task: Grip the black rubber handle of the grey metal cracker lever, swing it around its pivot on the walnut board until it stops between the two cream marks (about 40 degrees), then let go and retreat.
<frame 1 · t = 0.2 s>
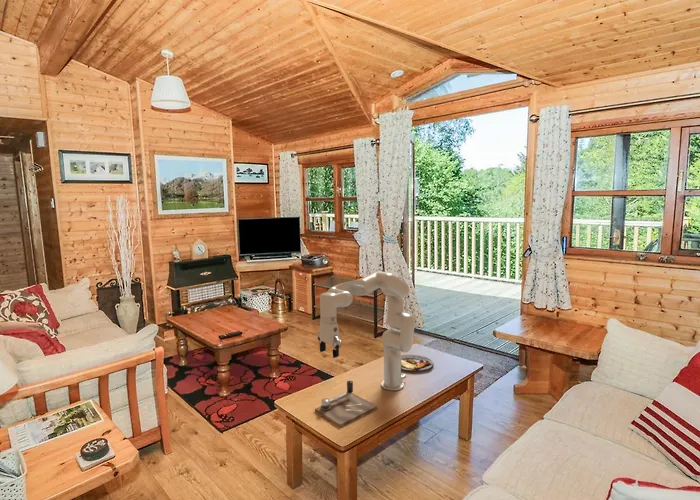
hand: (329, 354, 192), 31 cm above the table, fingers open, 9 cm apart
cracker board: (346, 410, 199), on the table
food plate: (413, 365, 252), on the table
lever: (337, 393, 203), point 6 cm above the table, hinge at 0.0°
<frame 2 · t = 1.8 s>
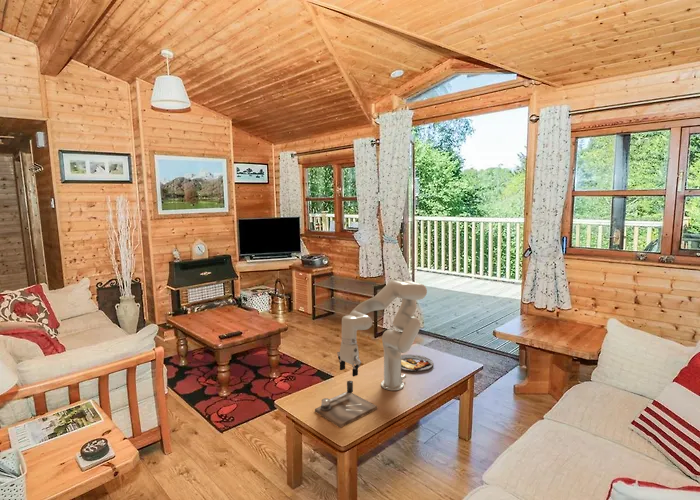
hand: (348, 372, 207), 15 cm above the table, fingers open, 9 cm apart
nothing on the table moved.
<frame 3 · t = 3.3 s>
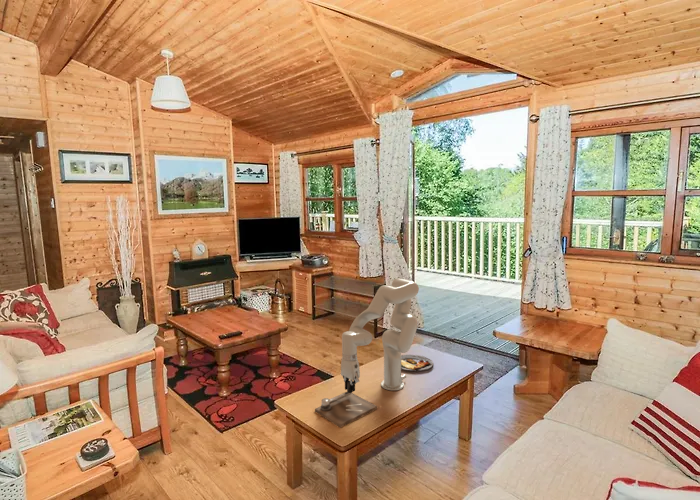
hand: (349, 389, 208), 6 cm above the table, fingers closed on lever, 3 cm apart
lever: (337, 393, 203), point 6 cm above the table, hinge at 0.0°, touching gripper
everything else where it was.
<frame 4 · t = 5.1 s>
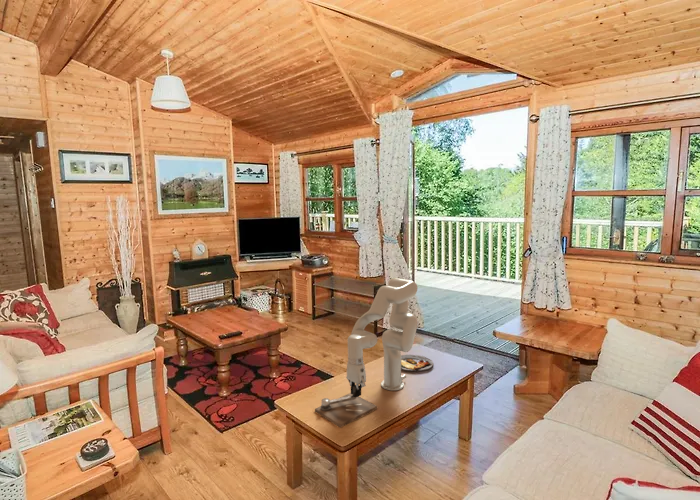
hand: (356, 394, 204), 6 cm above the table, fingers closed on lever, 3 cm apart
lever: (340, 396, 201), point 6 cm above the table, hinge at 19.3°, touching gripper
everything else where it was.
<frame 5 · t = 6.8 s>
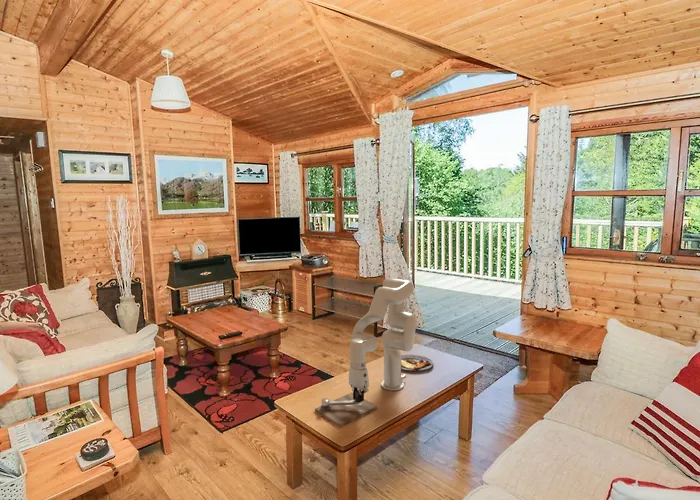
hand: (358, 399, 199), 6 cm above the table, fingers closed on lever, 3 cm apart
lever: (341, 398, 198), point 6 cm above the table, hinge at 39.4°, touching gripper
everything else where it was.
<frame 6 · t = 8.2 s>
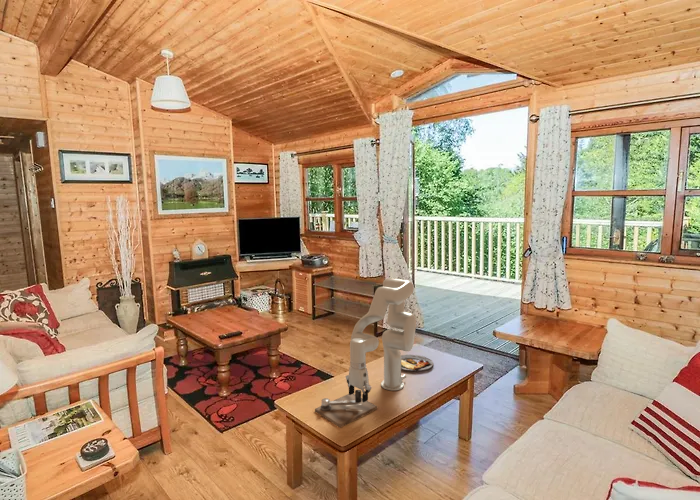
hand: (358, 397, 198), 7 cm above the table, fingers open, 9 cm apart
lever: (341, 398, 198), point 6 cm above the table, hinge at 39.5°
everything else where it was.
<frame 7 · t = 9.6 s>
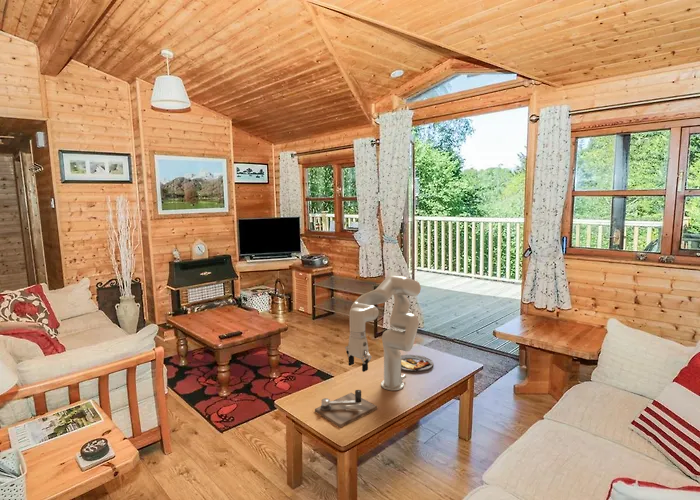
hand: (358, 367, 196), 22 cm above the table, fingers open, 9 cm apart
nothing on the table moved.
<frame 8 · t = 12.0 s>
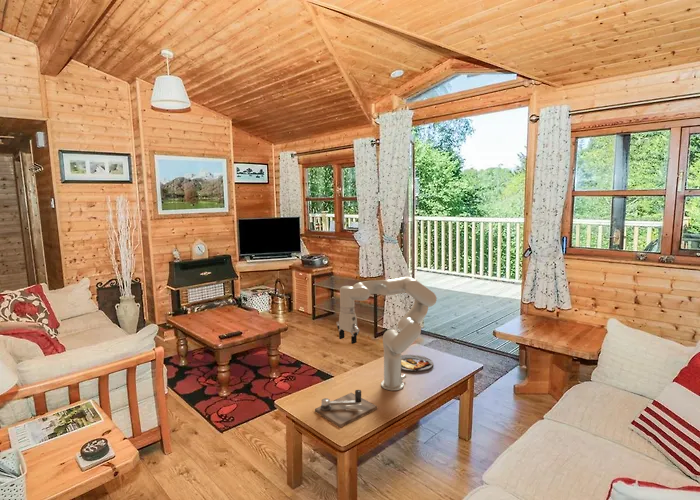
hand: (347, 340, 215), 28 cm above the table, fingers open, 9 cm apart
nothing on the table moved.
at the end: lever at +40° (first picture: +0°); the gripper is holding nothing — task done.
